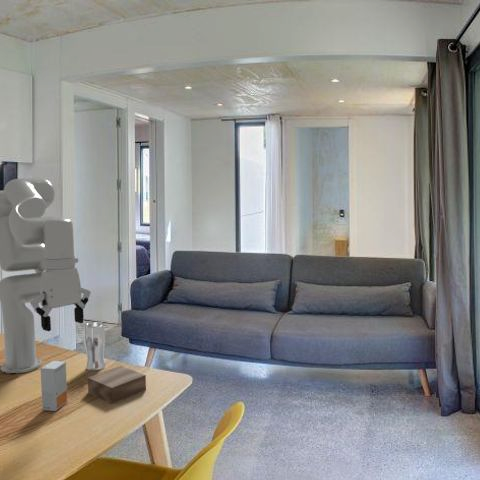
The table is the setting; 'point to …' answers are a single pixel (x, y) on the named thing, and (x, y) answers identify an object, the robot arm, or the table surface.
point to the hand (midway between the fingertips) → (63, 326)
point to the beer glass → (94, 345)
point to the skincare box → (53, 385)
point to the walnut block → (116, 384)
